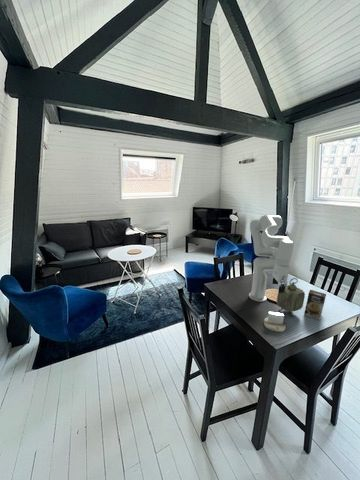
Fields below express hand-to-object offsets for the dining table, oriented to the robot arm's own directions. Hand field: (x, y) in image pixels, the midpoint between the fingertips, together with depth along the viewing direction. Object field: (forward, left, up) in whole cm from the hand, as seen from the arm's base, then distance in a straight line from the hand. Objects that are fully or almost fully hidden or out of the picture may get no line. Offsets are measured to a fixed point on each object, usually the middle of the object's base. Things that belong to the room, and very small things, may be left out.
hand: (278, 288), depth 122 cm
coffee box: (-10, +29, -23) cm, 38 cm away
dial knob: (+4, +1, -21) cm, 21 cm away
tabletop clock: (-11, +14, -23) cm, 29 cm away
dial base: (+3, 0, -23) cm, 23 cm away
